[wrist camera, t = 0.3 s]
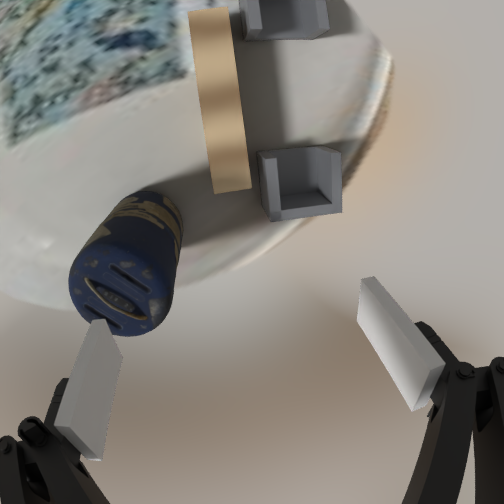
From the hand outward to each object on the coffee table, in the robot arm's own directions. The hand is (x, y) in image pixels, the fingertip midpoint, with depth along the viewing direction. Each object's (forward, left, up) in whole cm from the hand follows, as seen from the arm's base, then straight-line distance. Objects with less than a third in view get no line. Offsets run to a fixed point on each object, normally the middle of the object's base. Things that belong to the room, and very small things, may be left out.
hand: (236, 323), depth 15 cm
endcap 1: (-22, +9, -26) cm, 35 cm away
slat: (-11, +1, -26) cm, 28 cm away
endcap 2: (-1, +9, -26) cm, 27 cm away
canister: (+3, -10, -26) cm, 28 cm away
